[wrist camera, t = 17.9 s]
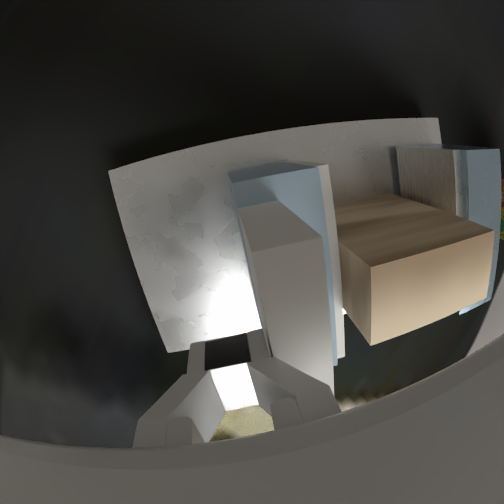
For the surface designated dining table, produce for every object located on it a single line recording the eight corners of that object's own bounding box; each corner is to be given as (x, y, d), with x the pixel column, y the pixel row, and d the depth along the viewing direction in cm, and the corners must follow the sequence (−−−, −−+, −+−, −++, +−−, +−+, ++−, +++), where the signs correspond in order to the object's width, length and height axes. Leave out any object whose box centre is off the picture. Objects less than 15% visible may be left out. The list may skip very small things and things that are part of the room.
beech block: (393, 239, 21) (486, 297, 11) (306, 260, 20) (370, 345, 11) (390, 193, 19) (494, 230, 10) (299, 210, 19) (370, 267, 10)
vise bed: (430, 273, 24) (493, 318, 16) (171, 338, 24) (155, 420, 15) (423, 119, 20) (504, 116, 11) (117, 169, 19) (54, 183, 10)
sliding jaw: (312, 301, 21) (388, 433, 10) (258, 314, 21) (295, 463, 10) (291, 160, 18) (407, 177, 6) (227, 172, 18) (242, 207, 6)
